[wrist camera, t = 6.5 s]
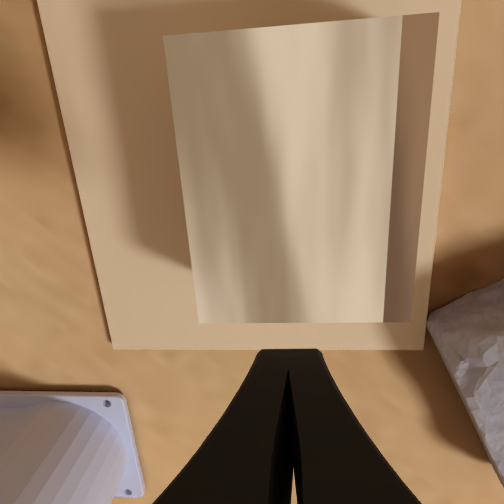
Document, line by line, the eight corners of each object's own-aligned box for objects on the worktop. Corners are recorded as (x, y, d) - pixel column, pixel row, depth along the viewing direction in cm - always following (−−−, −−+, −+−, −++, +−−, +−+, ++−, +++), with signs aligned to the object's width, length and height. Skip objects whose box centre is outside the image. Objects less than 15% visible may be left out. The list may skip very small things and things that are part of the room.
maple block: (198, 323, 16) (410, 322, 15) (162, 35, 12) (439, 12, 11) (216, 280, 19) (386, 277, 18) (193, 50, 16) (402, 33, 15)
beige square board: (116, 345, 22) (113, 349, 21) (31, -52, 15) (24, -56, 15) (420, 345, 20) (423, 350, 20) (468, -102, 14) (473, -108, 13)
